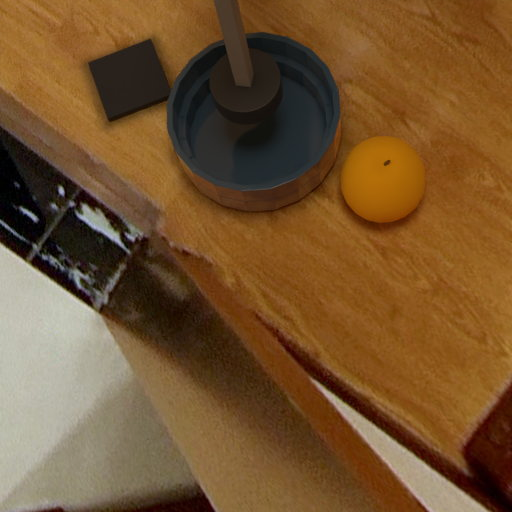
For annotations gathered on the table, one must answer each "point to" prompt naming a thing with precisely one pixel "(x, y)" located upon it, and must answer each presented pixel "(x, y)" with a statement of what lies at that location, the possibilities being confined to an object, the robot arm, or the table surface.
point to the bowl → (257, 129)
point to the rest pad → (130, 80)
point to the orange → (383, 179)
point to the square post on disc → (243, 73)
